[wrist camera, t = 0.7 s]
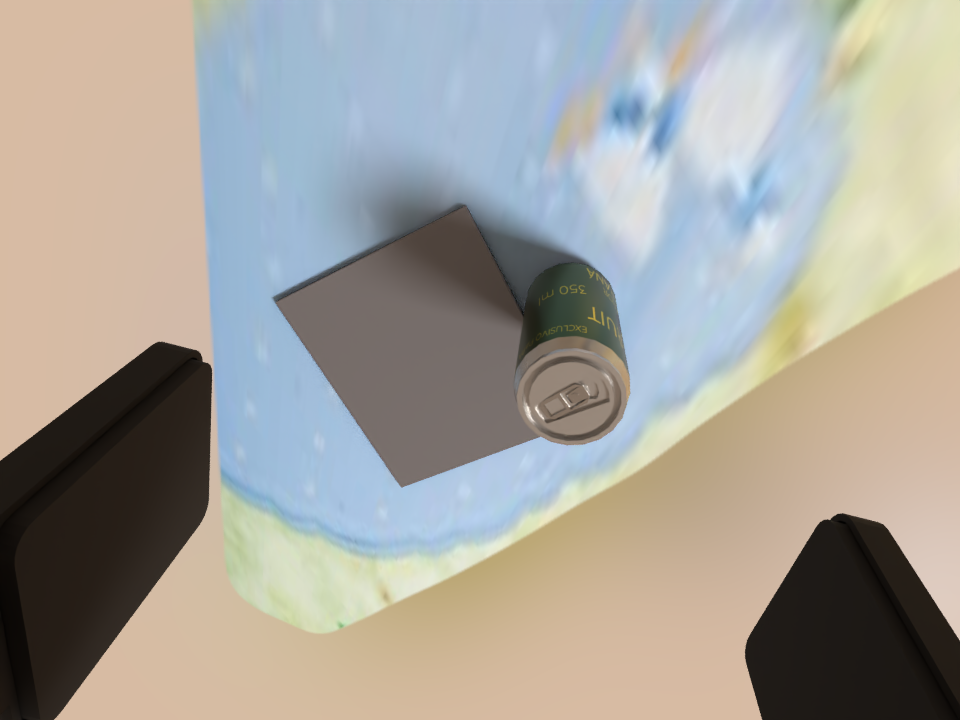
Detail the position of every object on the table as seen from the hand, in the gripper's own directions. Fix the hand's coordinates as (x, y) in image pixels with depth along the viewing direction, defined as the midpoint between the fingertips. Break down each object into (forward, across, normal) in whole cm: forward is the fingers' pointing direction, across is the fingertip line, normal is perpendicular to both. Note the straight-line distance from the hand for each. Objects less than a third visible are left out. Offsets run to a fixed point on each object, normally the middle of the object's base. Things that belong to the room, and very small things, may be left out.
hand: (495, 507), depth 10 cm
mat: (+30, +4, +14) cm, 33 cm away
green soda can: (+30, -4, +8) cm, 31 cm away
